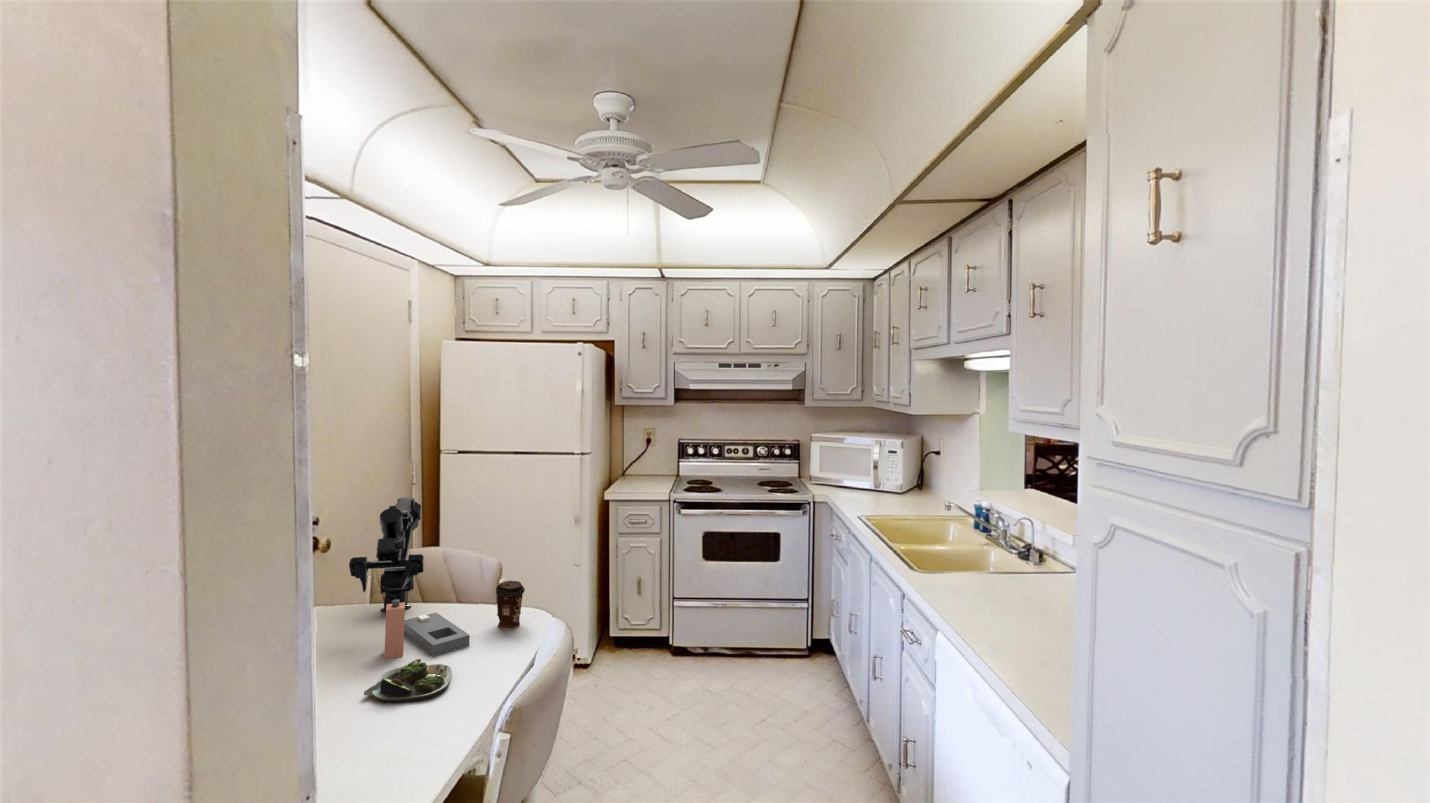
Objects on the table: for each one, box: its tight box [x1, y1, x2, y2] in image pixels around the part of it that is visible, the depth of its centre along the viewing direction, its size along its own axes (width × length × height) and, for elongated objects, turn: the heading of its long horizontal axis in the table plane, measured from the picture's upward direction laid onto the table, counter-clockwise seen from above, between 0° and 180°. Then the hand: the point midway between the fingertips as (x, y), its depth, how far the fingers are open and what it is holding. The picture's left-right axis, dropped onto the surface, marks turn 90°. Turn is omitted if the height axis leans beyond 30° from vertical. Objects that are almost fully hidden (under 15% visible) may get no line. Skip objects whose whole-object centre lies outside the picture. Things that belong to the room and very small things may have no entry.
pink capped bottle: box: [383, 599, 406, 659], centre depth 158 cm, size 4×4×14 cm
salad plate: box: [363, 658, 452, 704], centre depth 144 cm, size 19×18×5 cm
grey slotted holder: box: [404, 612, 471, 657], centre depth 169 cm, size 22×10×4 cm, turn 48°
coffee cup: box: [495, 580, 526, 631], centre depth 180 cm, size 9×8×13 cm
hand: (382, 589), depth 164 cm, fingers open, 9 cm apart
